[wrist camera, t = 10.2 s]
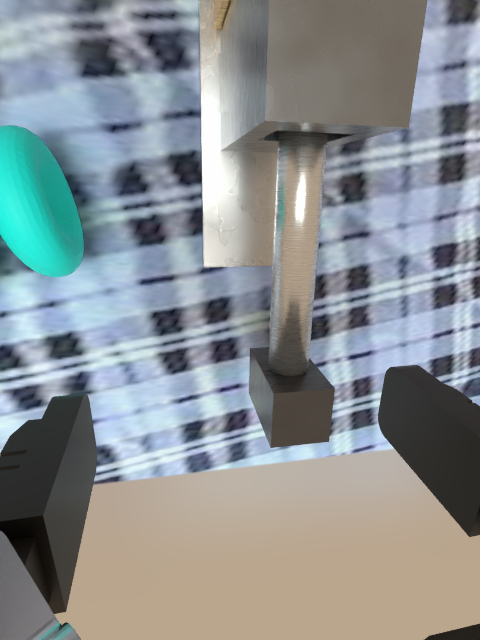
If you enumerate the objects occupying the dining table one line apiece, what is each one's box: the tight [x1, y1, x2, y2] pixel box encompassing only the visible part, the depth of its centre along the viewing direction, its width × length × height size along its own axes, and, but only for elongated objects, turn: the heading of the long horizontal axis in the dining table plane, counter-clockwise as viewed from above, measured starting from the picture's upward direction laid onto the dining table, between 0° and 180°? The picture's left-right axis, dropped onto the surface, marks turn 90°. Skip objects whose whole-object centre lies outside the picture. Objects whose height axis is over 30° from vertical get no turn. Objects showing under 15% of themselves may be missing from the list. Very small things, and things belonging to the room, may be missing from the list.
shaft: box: [249, 131, 335, 448], centre depth 24 cm, size 26×4×7 cm, turn 179°
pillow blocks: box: [199, 0, 427, 267], centre depth 23 cm, size 27×10×16 cm, turn 179°
